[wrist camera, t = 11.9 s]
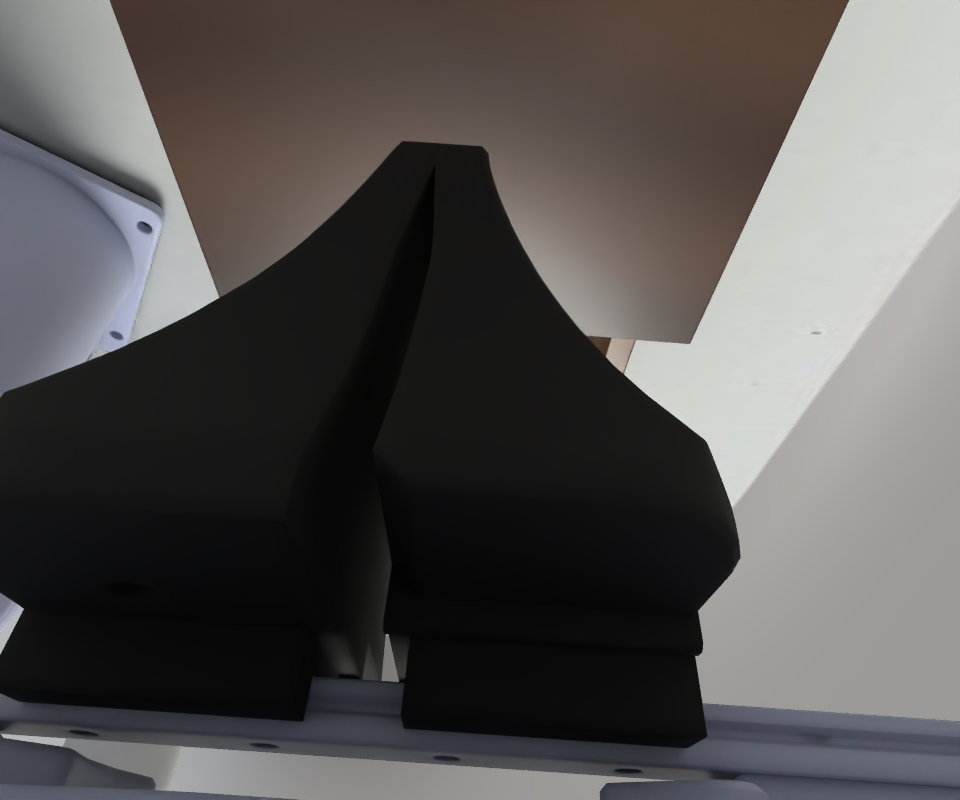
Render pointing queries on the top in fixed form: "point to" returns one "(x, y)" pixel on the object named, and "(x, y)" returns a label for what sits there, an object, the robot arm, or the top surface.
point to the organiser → (490, 126)
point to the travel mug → (133, 758)
